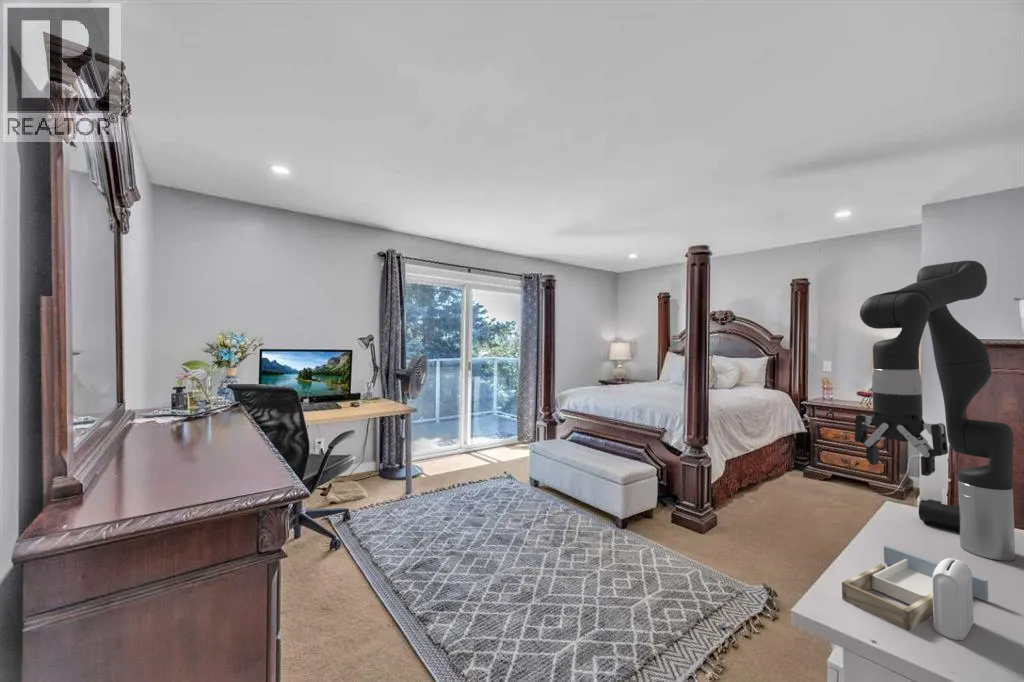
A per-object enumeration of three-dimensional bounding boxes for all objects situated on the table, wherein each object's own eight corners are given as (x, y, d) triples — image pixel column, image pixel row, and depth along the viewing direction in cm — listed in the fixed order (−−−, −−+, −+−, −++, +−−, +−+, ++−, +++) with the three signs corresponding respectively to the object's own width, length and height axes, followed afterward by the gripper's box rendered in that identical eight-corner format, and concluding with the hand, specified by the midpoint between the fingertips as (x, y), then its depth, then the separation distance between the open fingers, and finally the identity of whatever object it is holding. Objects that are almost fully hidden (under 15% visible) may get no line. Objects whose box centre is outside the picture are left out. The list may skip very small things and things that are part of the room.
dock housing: (908, 630, 79) (908, 611, 79) (842, 599, 88) (841, 582, 89) (947, 606, 85) (946, 589, 85) (881, 579, 95) (880, 564, 95)
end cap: (918, 524, 122) (917, 501, 122) (925, 518, 126) (924, 496, 126) (968, 537, 114) (967, 512, 114) (974, 530, 118) (973, 506, 118)
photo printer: (944, 611, 84) (942, 549, 84) (976, 622, 80) (974, 558, 80) (930, 631, 78) (928, 565, 78) (963, 645, 75) (961, 575, 75)
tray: (953, 622, 80) (952, 601, 80) (850, 578, 95) (849, 561, 95) (988, 599, 86) (987, 579, 87) (886, 561, 102) (886, 545, 102)
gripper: (952, 392, 81) (955, 476, 81) (865, 386, 94) (867, 458, 94) (933, 395, 78) (936, 482, 78) (846, 389, 91) (848, 463, 91)
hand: (899, 469), depth 86 cm, fingers open, 8 cm apart
